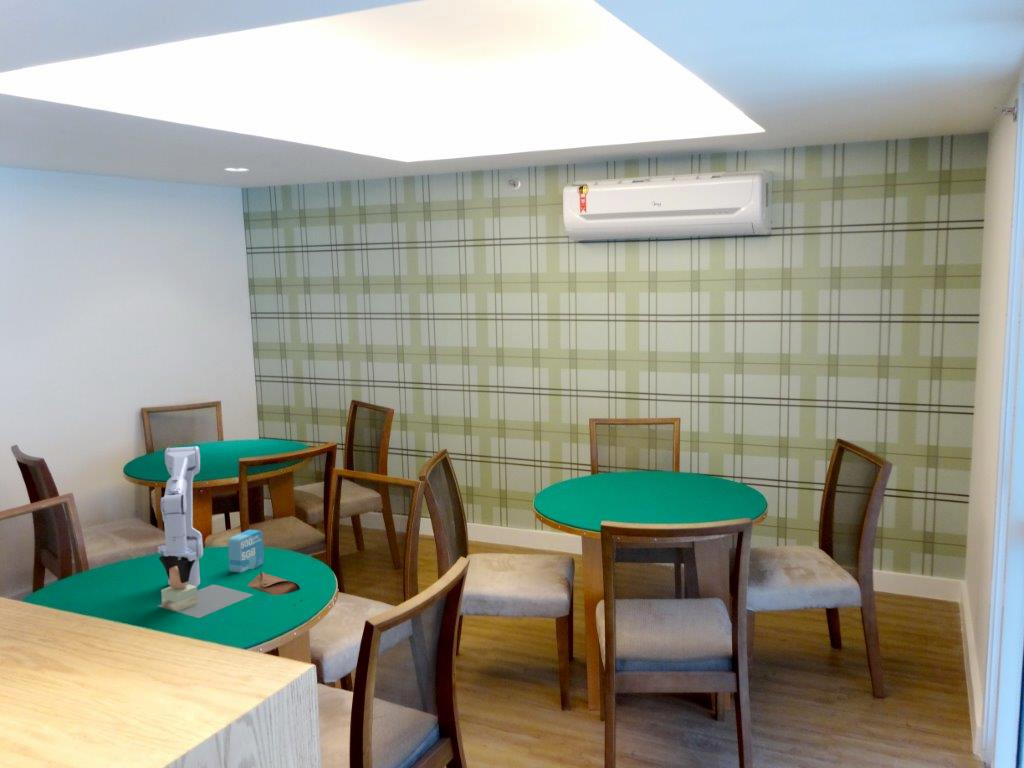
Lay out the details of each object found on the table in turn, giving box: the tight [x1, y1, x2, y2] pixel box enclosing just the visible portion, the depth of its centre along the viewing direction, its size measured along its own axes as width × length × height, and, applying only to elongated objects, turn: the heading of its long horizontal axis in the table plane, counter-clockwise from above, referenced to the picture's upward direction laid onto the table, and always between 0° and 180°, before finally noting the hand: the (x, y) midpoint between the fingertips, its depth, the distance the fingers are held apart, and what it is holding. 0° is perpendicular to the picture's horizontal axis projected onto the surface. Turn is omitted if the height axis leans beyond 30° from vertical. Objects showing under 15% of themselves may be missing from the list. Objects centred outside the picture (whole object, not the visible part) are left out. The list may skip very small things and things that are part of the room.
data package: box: [227, 529, 265, 573], centre depth 280 cm, size 12×4×12 cm, turn 159°
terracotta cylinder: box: [169, 566, 189, 588], centre depth 248 cm, size 5×5×5 cm
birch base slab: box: [161, 595, 198, 612], centre depth 248 cm, size 7×7×2 cm
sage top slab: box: [160, 584, 198, 603], centre depth 248 cm, size 7×7×2 cm
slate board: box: [158, 584, 254, 619], centre depth 252 cm, size 18×20×1 cm
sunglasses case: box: [247, 571, 301, 596], centre depth 262 cm, size 18×7×7 cm, turn 55°
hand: (178, 580), depth 248 cm, fingers closed on terracotta cylinder, 5 cm apart
